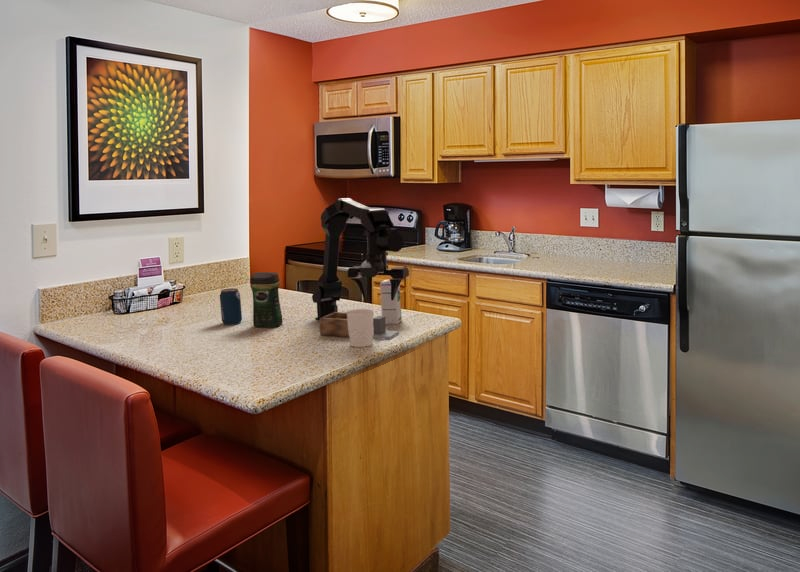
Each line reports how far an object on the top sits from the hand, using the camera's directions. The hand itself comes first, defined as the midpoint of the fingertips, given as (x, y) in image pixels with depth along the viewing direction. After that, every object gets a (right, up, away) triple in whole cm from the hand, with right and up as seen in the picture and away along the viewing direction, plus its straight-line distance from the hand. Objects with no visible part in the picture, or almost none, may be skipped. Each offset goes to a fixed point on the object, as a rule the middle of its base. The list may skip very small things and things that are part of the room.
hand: (378, 299), depth 191 cm
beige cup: (-5, -13, -8) cm, 16 cm away
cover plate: (0, -12, +2) cm, 12 cm away
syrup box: (+4, -8, +20) cm, 22 cm away
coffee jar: (-39, -10, +21) cm, 45 cm away
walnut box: (-11, -11, +7) cm, 17 cm away
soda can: (-53, -9, +27) cm, 60 cm away
